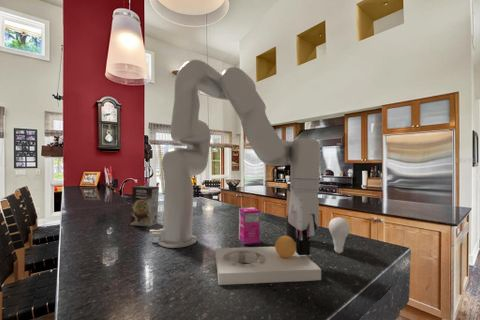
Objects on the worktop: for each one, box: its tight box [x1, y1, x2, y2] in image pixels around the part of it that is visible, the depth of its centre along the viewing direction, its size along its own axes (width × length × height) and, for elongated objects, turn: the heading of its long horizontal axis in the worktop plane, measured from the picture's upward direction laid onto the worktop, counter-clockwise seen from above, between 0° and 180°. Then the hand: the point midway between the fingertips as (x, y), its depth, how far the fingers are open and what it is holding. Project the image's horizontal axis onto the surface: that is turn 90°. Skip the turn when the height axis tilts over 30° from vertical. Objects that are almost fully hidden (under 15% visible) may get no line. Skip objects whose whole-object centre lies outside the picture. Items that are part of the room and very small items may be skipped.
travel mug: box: [285, 183, 296, 243], centre depth 87 cm, size 8×8×20 cm
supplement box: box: [238, 206, 261, 247], centre depth 82 cm, size 6×6×12 cm
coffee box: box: [130, 185, 160, 227], centre depth 103 cm, size 9×6×16 cm
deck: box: [214, 246, 322, 286], centre depth 62 cm, size 24×16×2 cm, turn 99°
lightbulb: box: [328, 216, 351, 254], centre depth 74 cm, size 6×6×11 cm
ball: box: [274, 235, 296, 258], centre depth 63 cm, size 6×6×6 cm
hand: (302, 253), depth 64 cm, fingers closed
